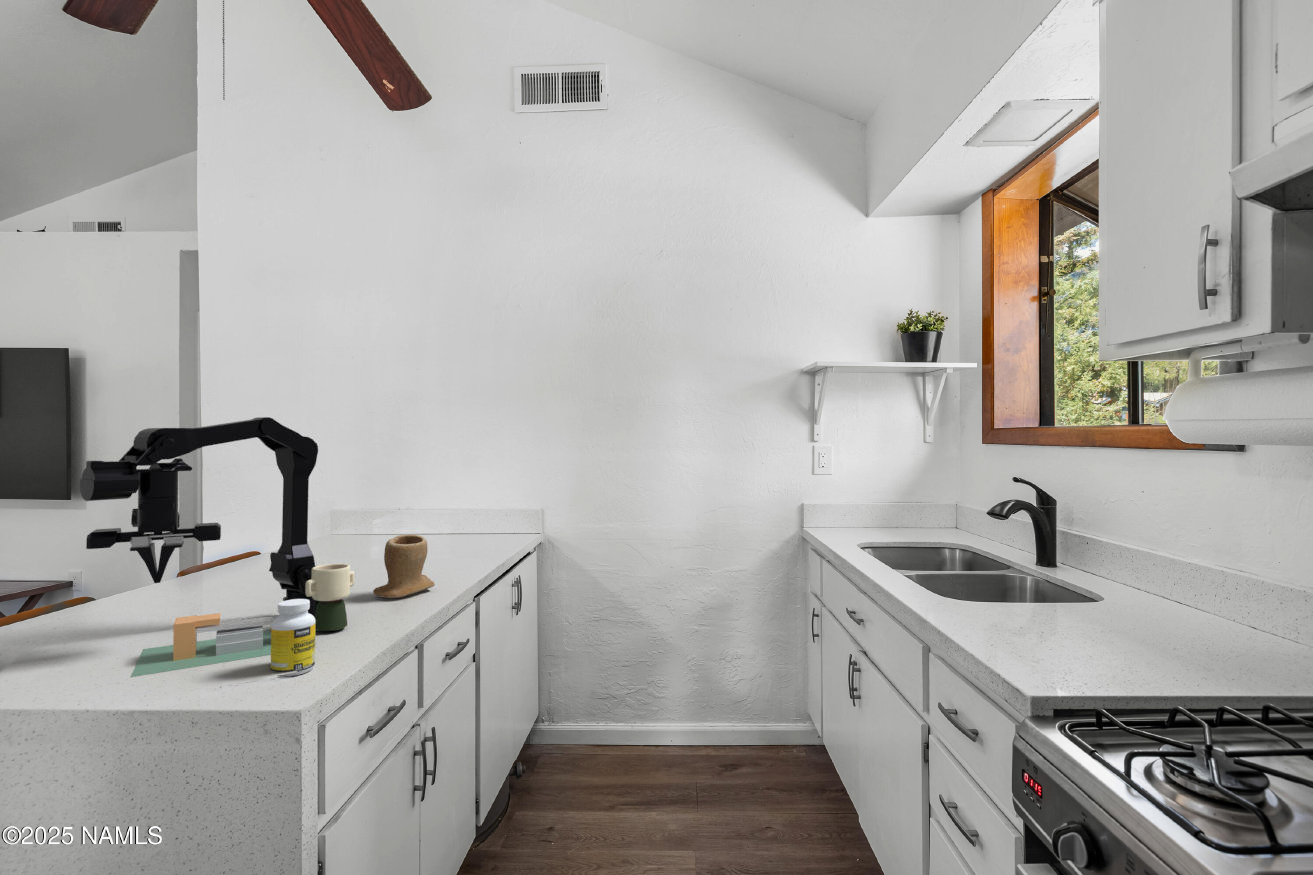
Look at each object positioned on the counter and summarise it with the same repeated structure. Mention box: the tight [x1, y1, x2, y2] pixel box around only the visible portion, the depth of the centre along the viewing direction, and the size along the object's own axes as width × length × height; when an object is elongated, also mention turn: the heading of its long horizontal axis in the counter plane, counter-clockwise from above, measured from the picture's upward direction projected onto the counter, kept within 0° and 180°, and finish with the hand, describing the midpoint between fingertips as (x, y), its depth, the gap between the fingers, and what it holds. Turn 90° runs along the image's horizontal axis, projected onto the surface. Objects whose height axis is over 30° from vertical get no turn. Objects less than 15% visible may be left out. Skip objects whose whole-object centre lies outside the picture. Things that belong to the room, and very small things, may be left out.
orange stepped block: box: [172, 612, 221, 661], centre depth 111 cm, size 6×5×6 cm
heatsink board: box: [130, 626, 271, 678], centre depth 113 cm, size 23×16×6 cm
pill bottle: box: [270, 599, 316, 678], centre depth 105 cm, size 6×6×12 cm
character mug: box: [306, 563, 356, 633], centre depth 128 cm, size 11×7×13 cm, turn 155°
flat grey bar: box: [196, 614, 279, 634], centre depth 114 cm, size 14×4×1 cm, turn 124°
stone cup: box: [372, 533, 435, 599], centre depth 158 cm, size 15×12×15 cm
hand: (157, 582), depth 113 cm, fingers closed
